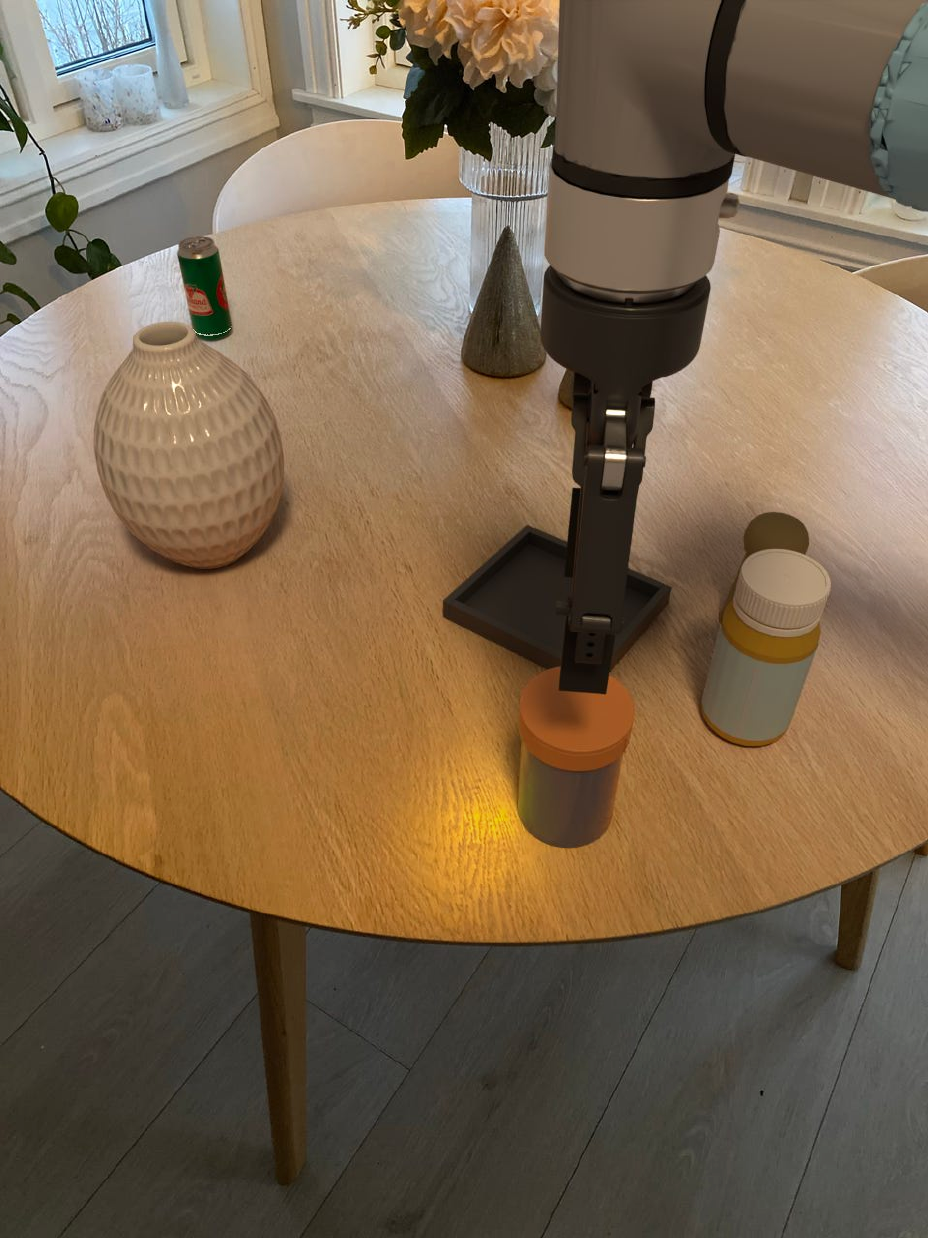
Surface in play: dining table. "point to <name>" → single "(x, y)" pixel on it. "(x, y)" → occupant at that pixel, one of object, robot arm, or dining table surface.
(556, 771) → the jar
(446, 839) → the dining table surface
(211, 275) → the soda can
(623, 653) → the tray
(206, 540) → the vase
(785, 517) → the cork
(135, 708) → the dining table surface
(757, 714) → the bottle
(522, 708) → the lid
